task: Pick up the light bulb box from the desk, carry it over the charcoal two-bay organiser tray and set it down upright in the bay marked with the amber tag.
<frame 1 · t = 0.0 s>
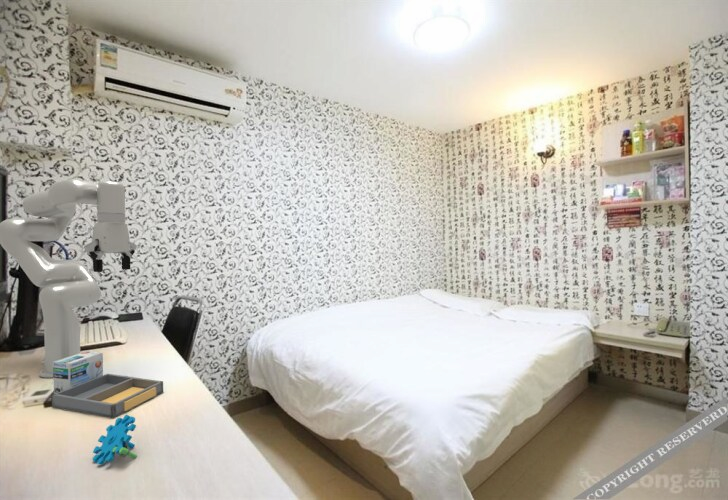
hand: (112, 270, 116), 37 cm above the table, tool pointing down, fingers open, 9 cm apart
light bulb box: (79, 391, 108), on the table
bay tray: (110, 399, 102), on the table
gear: (116, 457, 76), on the table
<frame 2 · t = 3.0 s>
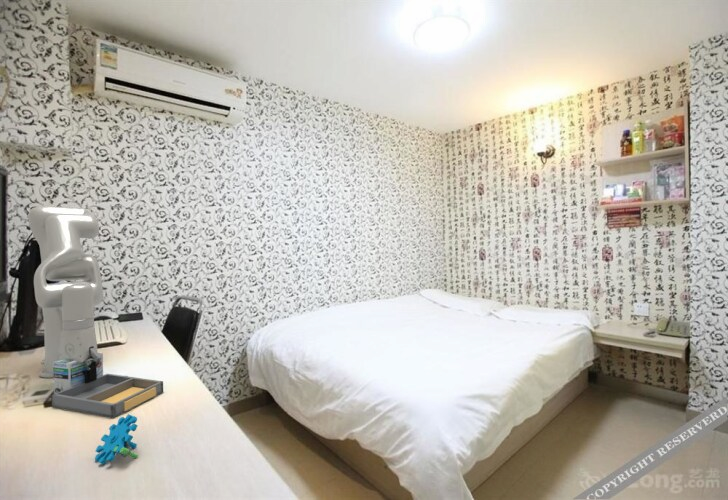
hand: (80, 380, 108), 3 cm above the table, tool pointing down, fingers open, 8 cm apart
light bulb box: (79, 391, 108), on the table, touching gripper
everything else where it was.
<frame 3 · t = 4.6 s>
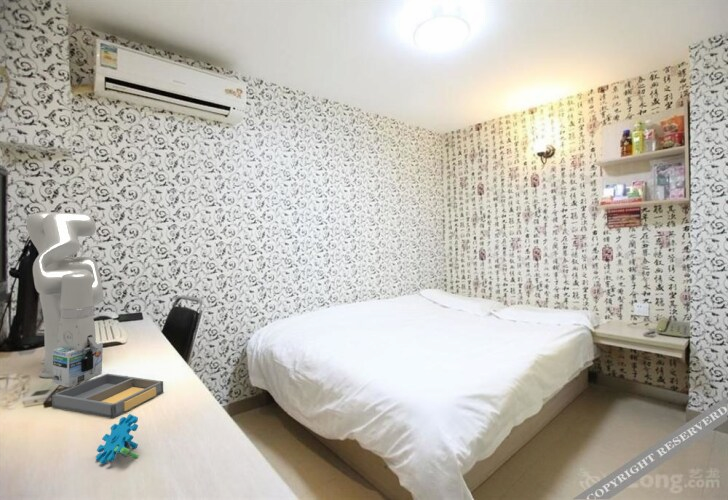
hand: (78, 368, 109), 7 cm above the table, tool pointing down, fingers closed on light bulb box, 6 cm apart
light bulb box: (78, 379, 109), point 3 cm above the table, touching gripper
everything else where it was.
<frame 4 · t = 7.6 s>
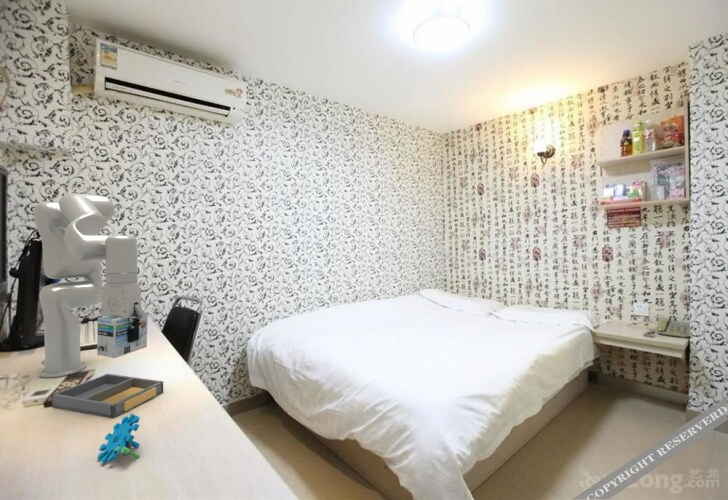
hand: (123, 339, 100), 18 cm above the table, tool pointing down, fingers closed on light bulb box, 6 cm apart
light bulb box: (123, 351, 100), point 15 cm above the table, touching gripper
everything else where it was.
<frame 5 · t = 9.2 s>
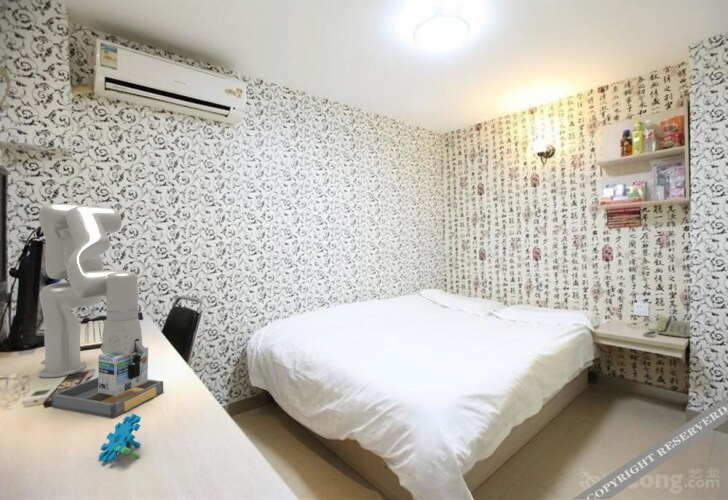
hand: (124, 375, 100), 8 cm above the table, tool pointing down, fingers closed on light bulb box, 6 cm apart
light bulb box: (123, 387, 101), point 4 cm above the table, touching gripper
everything else where it was.
when the fingers open (5 cm above the table, at t = 10.8 s): light bulb box stays where it is, resting on bay tray.
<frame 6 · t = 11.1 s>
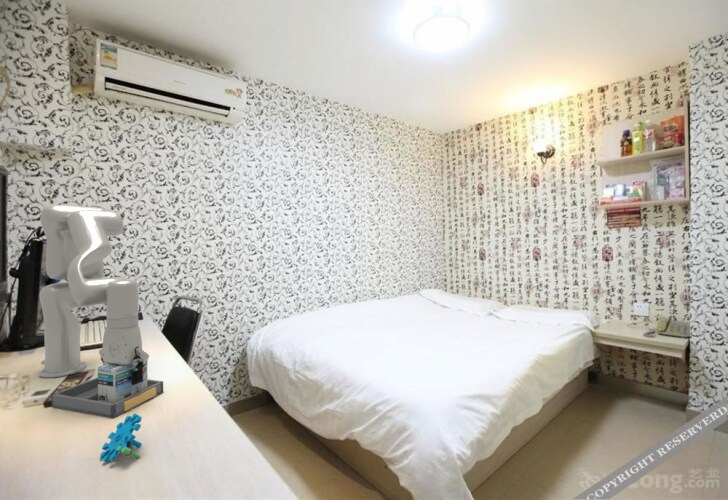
hand: (124, 381, 100), 6 cm above the table, tool pointing down, fingers open, 9 cm apart
light bulb box: (124, 398, 101), point 1 cm above the table, touching bay tray
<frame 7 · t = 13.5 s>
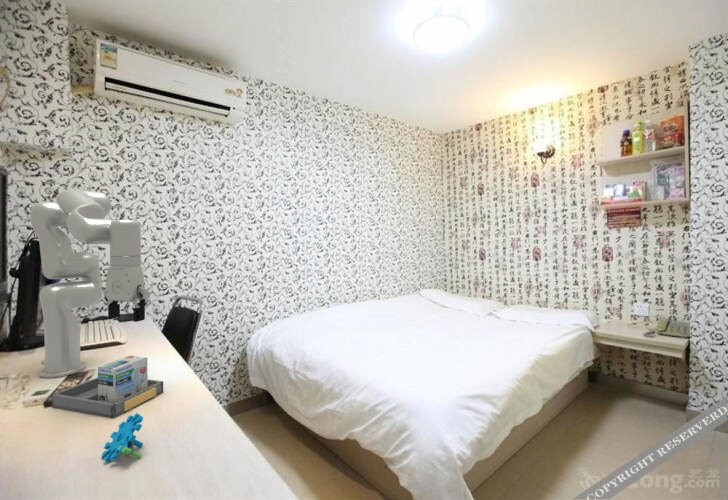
hand: (126, 319, 103), 24 cm above the table, tool pointing down, fingers open, 9 cm apart
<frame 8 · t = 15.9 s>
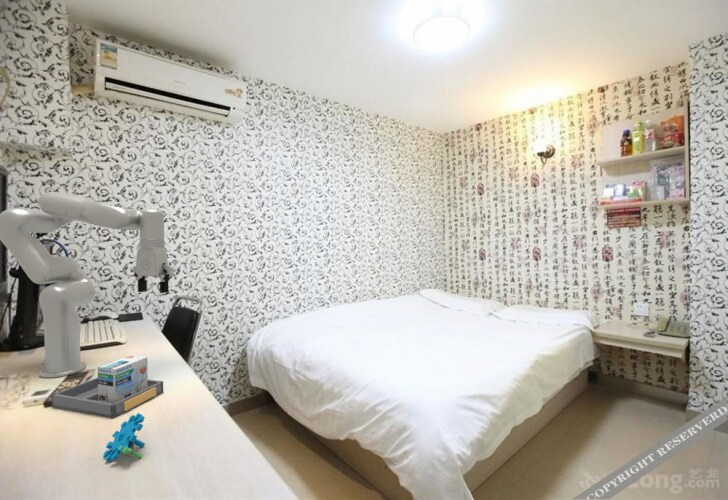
hand: (153, 291, 124), 28 cm above the table, tool pointing down, fingers open, 9 cm apart
at the end: light bulb box 0.4 cm from the target spot on the bay tray, point 0.8 cm above the bay tray's base; light bulb box tilted 0°; the gripper is holding nothing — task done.
